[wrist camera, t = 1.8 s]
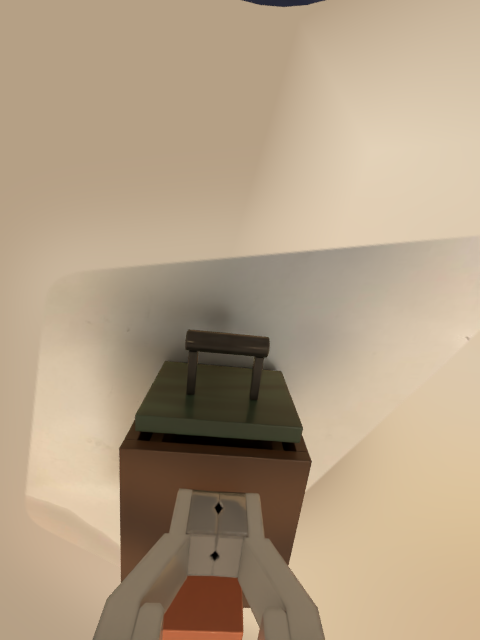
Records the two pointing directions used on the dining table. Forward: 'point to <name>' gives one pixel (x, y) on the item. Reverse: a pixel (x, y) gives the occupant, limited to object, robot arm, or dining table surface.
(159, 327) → the dining table surface
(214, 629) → the block
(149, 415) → the drawer
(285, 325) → the dining table surface
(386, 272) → the dining table surface
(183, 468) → the cabinet
